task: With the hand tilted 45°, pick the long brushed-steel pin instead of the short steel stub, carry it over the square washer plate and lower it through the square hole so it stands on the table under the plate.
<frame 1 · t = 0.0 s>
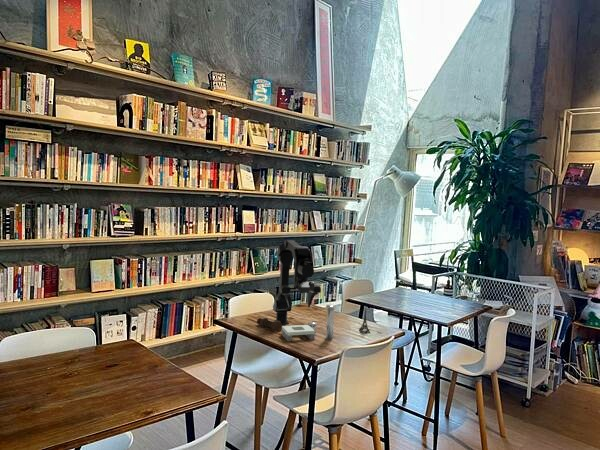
hand: (299, 307, 201), 15 cm above the table, tool pointing down, fingers open, 9 cm apart
square washer plate: (297, 336, 205), on the table
long pin: (329, 338, 205), on the table
short stub: (312, 332, 213), on the table
bolt: (268, 328, 218), on the table
eiffel tower figurine: (365, 332, 218), on the table
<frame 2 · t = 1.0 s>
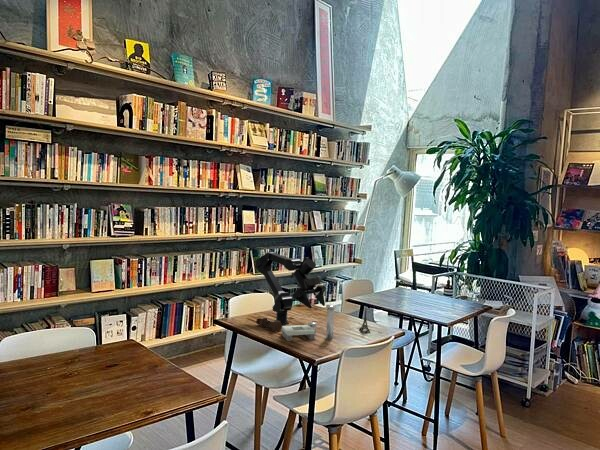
hand: (317, 306, 210), 13 cm above the table, tool tilted 45°, fingers open, 9 cm apart
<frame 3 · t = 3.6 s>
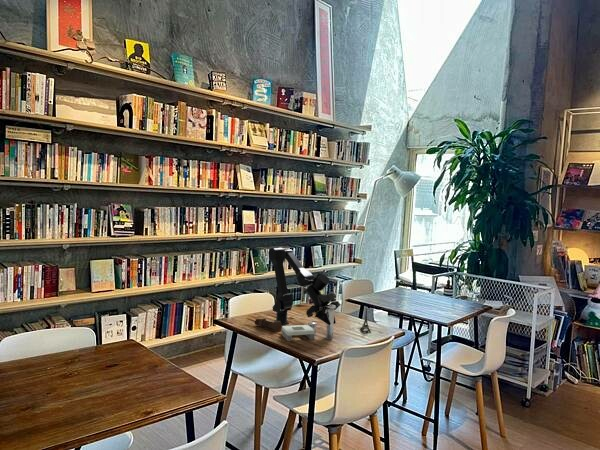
hand: (332, 324, 204), 7 cm above the table, tool tilted 45°, fingers closed on long pin, 3 cm apart
long pin: (329, 338, 205), on the table, touching gripper
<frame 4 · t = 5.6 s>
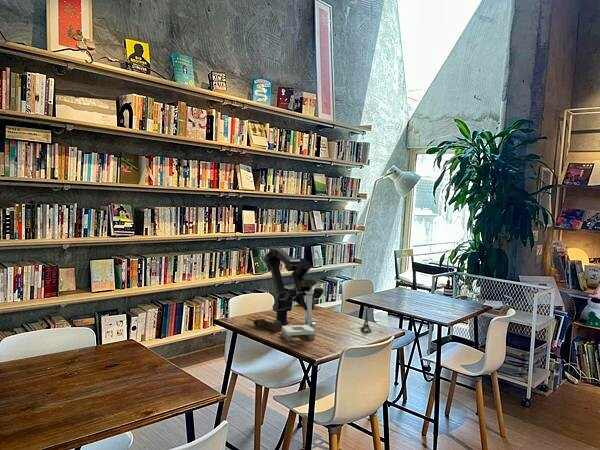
hand: (309, 309, 203), 14 cm above the table, tool tilted 45°, fingers closed on long pin, 3 cm apart
long pin: (307, 324, 204), point 6 cm above the table, touching gripper
when the fingers open (8 cm above the table, at t = 7.7 s): long pin stays where it is, on the table.
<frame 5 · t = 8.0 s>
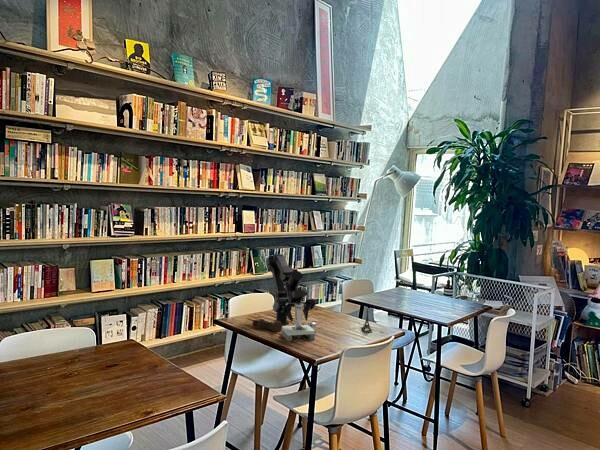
hand: (299, 320, 204), 8 cm above the table, tool tilted 45°, fingers open, 7 cm apart
long pin: (297, 336, 205), on the table
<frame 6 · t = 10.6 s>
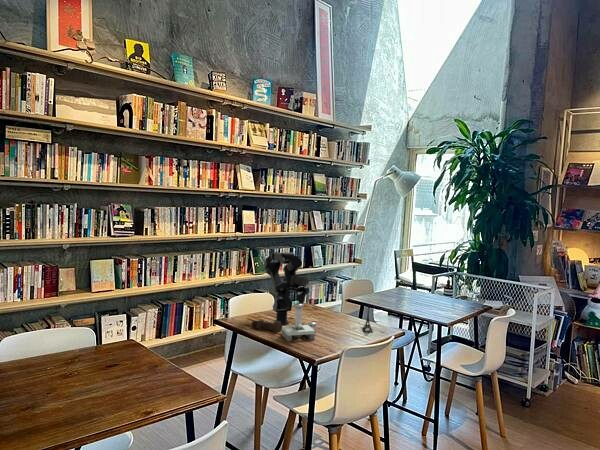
hand: (295, 306, 211), 13 cm above the table, tool tilted 30°, fingers open, 9 cm apart
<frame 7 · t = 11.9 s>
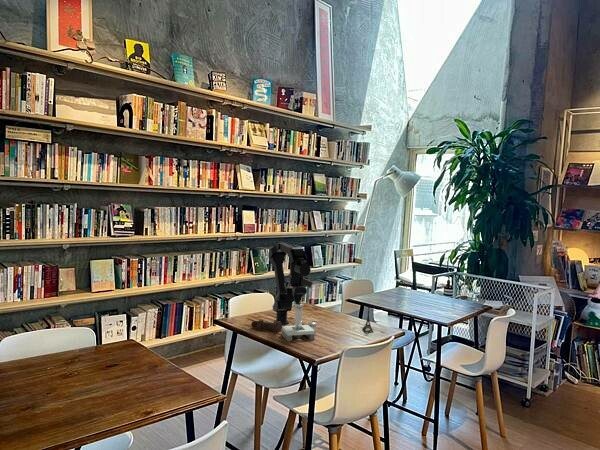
hand: (294, 304, 214), 13 cm above the table, tool pointing down, fingers open, 9 cm apart
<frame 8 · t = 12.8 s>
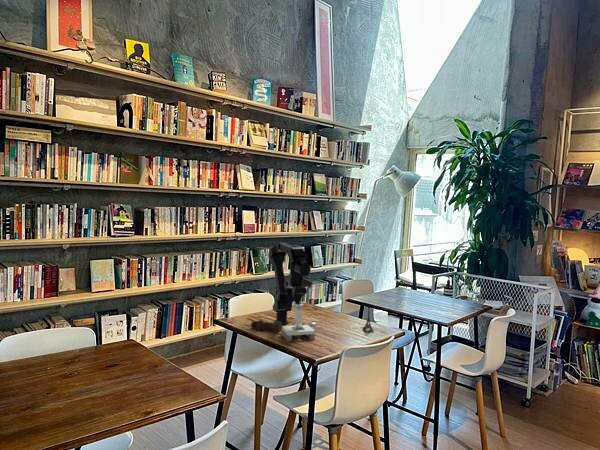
hand: (294, 304, 214), 13 cm above the table, tool pointing down, fingers open, 9 cm apart
at the end: long pin 0.0 cm off-centre on the square washer plate, point 0.0 cm above the square washer plate's base; long pin tilted 0°; the gripper is holding nothing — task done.
